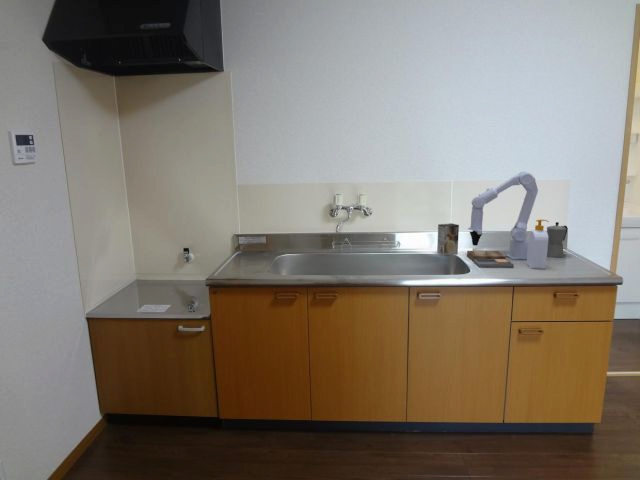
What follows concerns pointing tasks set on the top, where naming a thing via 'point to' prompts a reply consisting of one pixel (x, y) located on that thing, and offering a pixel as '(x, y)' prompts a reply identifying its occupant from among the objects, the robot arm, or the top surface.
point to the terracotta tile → (500, 261)
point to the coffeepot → (556, 240)
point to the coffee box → (447, 239)
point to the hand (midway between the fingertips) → (475, 245)
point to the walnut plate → (486, 255)
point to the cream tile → (478, 251)
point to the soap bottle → (537, 247)
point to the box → (491, 264)
